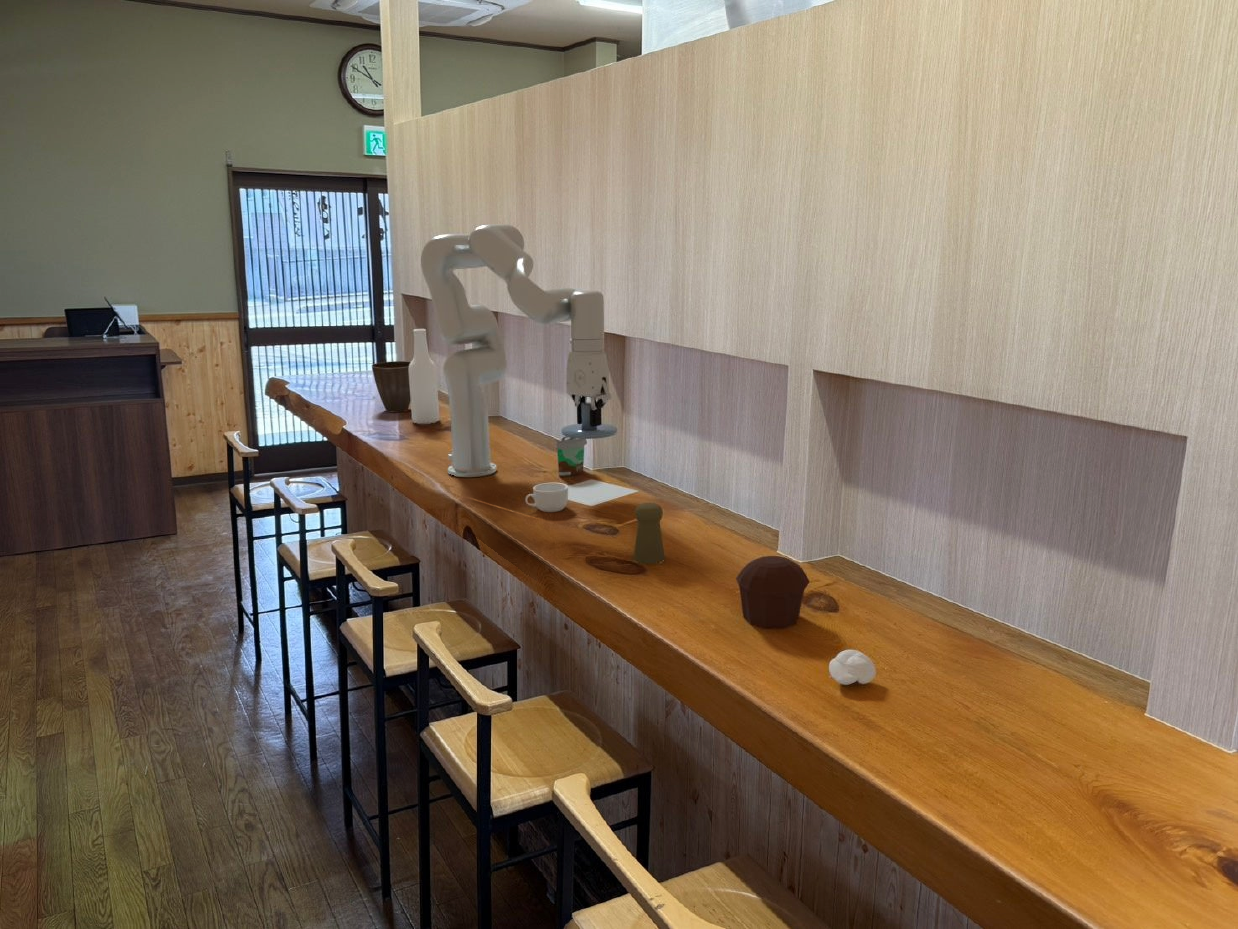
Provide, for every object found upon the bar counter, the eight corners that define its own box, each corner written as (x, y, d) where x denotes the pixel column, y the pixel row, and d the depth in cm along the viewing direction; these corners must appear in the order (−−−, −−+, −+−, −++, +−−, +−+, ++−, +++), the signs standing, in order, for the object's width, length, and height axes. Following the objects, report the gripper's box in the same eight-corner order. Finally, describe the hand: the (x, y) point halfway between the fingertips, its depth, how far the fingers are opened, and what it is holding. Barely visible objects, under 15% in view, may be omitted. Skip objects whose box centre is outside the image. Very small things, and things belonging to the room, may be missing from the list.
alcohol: (411, 420, 310) (404, 328, 302) (438, 418, 312) (432, 327, 305) (413, 425, 302) (406, 331, 294) (441, 423, 304) (435, 330, 297)
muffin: (751, 636, 146) (753, 576, 144) (724, 609, 157) (725, 552, 154) (820, 626, 150) (823, 567, 147) (789, 600, 160) (791, 544, 157)
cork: (668, 563, 178) (667, 507, 175) (636, 566, 177) (635, 510, 174) (661, 552, 184) (661, 498, 181) (630, 555, 183) (630, 500, 180)
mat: (543, 494, 224) (543, 493, 224) (591, 480, 235) (591, 479, 235) (591, 507, 213) (591, 506, 213) (639, 492, 224) (639, 491, 224)
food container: (581, 480, 235) (580, 441, 233) (557, 479, 236) (556, 440, 234) (592, 468, 247) (591, 430, 244) (569, 467, 248) (568, 430, 245)
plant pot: (428, 407, 330) (425, 362, 326) (402, 415, 317) (398, 368, 313) (393, 404, 336) (389, 360, 332) (366, 412, 323) (362, 366, 319)
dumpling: (856, 670, 135) (858, 644, 134) (883, 684, 131) (884, 658, 130) (819, 681, 132) (820, 655, 131) (844, 697, 128) (845, 670, 127)
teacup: (560, 503, 217) (559, 480, 215) (574, 512, 210) (573, 488, 209) (519, 509, 213) (518, 486, 211) (532, 518, 206) (531, 495, 205)
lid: (550, 433, 220) (549, 404, 218) (589, 423, 229) (589, 396, 227) (589, 441, 211) (588, 411, 210) (628, 431, 220) (628, 403, 219)
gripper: (551, 344, 218) (553, 422, 223) (602, 350, 207) (603, 432, 212) (574, 341, 223) (576, 417, 228) (625, 347, 212) (626, 427, 217)
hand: (589, 423), depth 220 cm, fingers closed on lid, 3 cm apart
